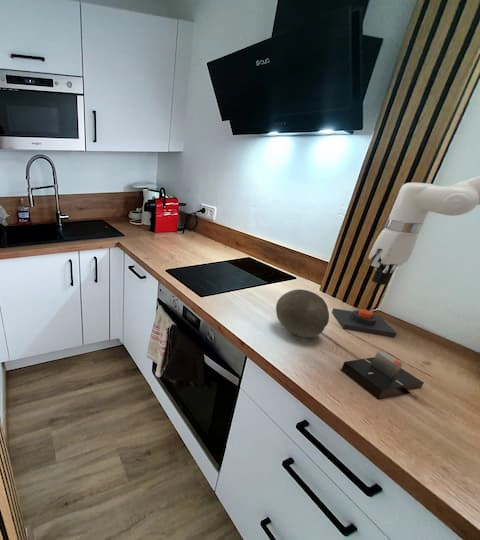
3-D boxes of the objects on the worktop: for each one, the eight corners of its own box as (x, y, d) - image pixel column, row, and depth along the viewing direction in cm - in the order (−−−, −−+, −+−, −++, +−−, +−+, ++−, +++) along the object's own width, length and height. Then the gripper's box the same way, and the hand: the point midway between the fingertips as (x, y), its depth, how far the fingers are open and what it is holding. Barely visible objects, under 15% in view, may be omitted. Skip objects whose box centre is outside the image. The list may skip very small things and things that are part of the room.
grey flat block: (376, 323, 100) (381, 311, 98) (392, 341, 91) (399, 328, 89) (330, 315, 104) (334, 303, 102) (341, 332, 94) (346, 319, 92)
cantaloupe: (303, 321, 100) (316, 283, 94) (330, 347, 87) (347, 305, 81) (263, 320, 100) (274, 282, 94) (284, 346, 87) (298, 303, 81)
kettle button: (368, 314, 97) (370, 310, 96) (373, 320, 93) (375, 315, 93) (355, 312, 98) (357, 308, 97) (360, 317, 94) (362, 313, 94)
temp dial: (370, 365, 76) (377, 350, 74) (375, 364, 76) (382, 350, 74) (390, 379, 71) (398, 364, 69) (395, 378, 71) (403, 363, 70)
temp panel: (378, 364, 80) (382, 355, 79) (418, 391, 72) (424, 382, 70) (340, 370, 78) (344, 361, 77) (377, 399, 69) (383, 389, 68)
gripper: (408, 223, 88) (384, 276, 96) (369, 224, 85) (348, 279, 92) (437, 229, 82) (409, 286, 89) (396, 230, 79) (371, 290, 86)
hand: (378, 282), depth 91 cm, fingers closed
